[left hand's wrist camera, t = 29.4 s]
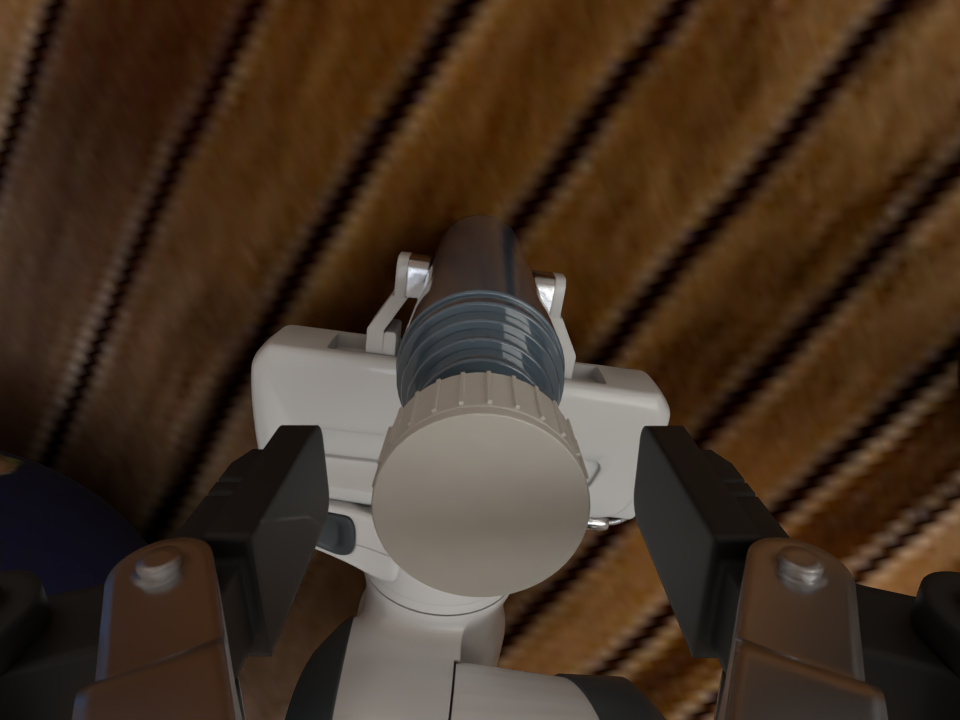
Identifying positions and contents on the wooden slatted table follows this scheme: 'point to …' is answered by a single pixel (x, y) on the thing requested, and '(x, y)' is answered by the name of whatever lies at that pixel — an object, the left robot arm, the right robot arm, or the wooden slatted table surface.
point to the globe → (58, 527)
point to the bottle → (480, 315)
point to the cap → (480, 486)
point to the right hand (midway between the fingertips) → (481, 264)
